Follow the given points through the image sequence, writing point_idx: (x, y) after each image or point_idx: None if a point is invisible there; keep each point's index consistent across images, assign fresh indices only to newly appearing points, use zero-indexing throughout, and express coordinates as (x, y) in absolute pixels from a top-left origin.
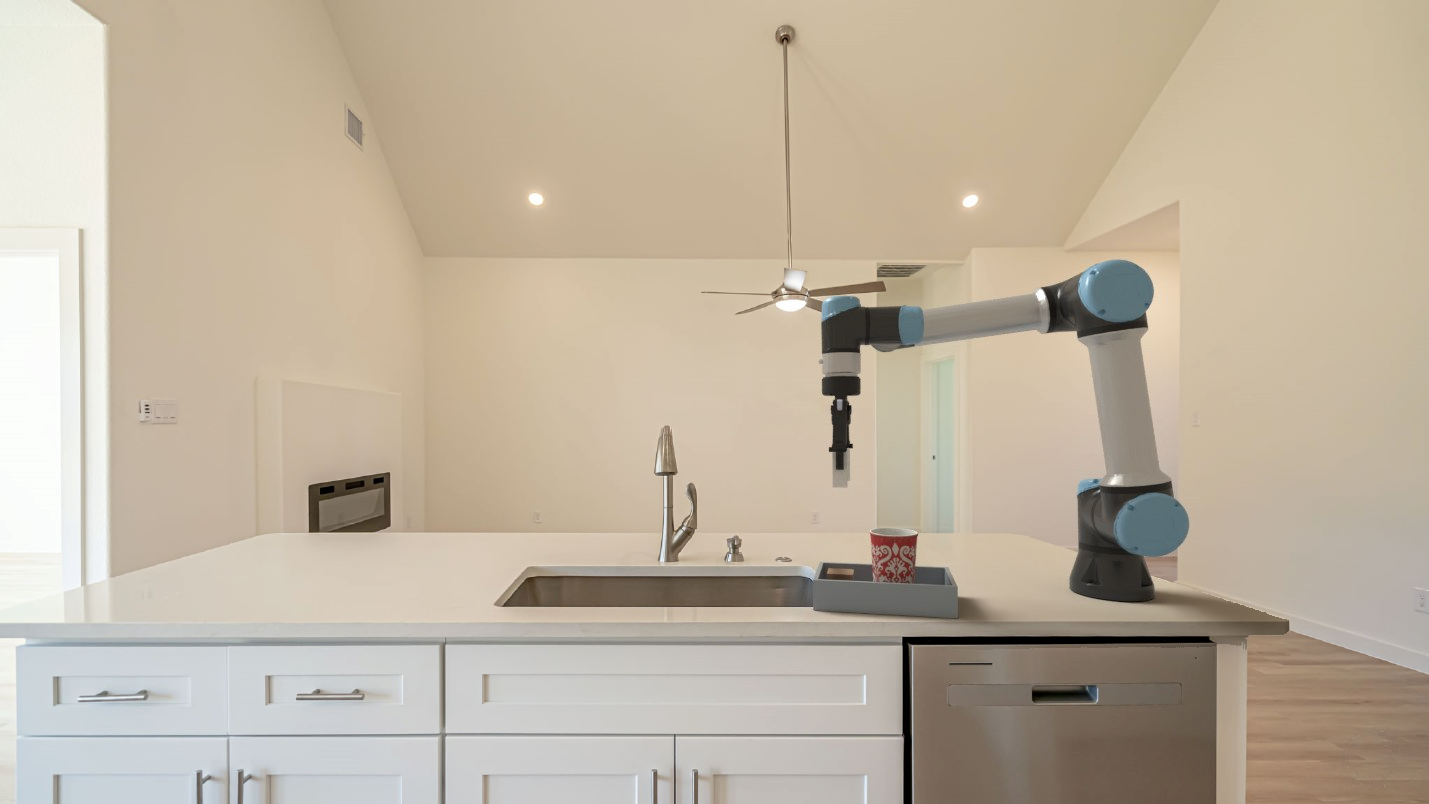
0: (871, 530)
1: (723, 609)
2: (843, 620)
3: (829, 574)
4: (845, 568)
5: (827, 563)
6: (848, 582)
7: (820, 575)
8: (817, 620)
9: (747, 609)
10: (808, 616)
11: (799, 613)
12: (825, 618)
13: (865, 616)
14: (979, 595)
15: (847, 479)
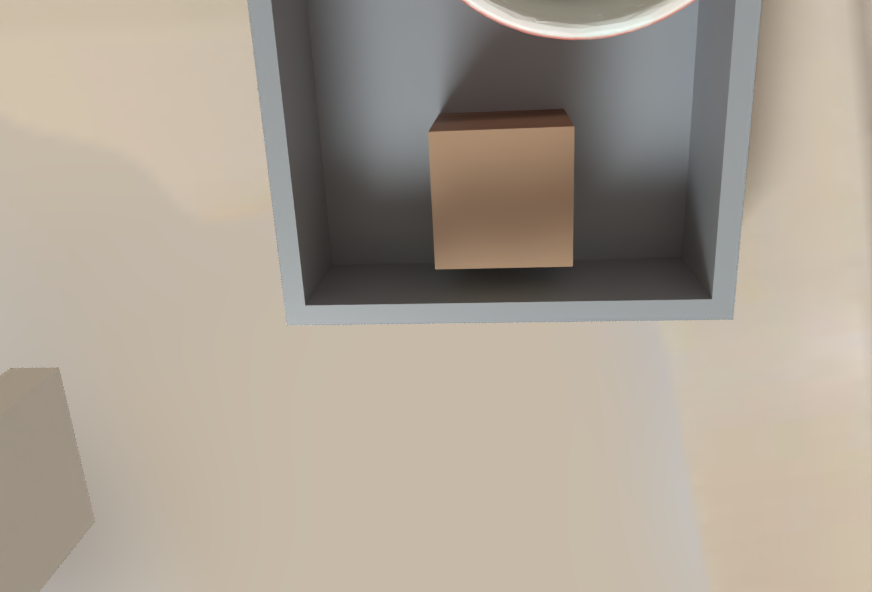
0: (557, 23)
1: (732, 581)
2: (843, 131)
3: (572, 251)
4: (300, 182)
5: (302, 283)
6: (747, 139)
7: (523, 294)
8: (853, 238)
9: (720, 507)
10: (795, 280)
11: (752, 319)
12: (819, 209)
13: (766, 36)
14: None
15: (56, 405)
